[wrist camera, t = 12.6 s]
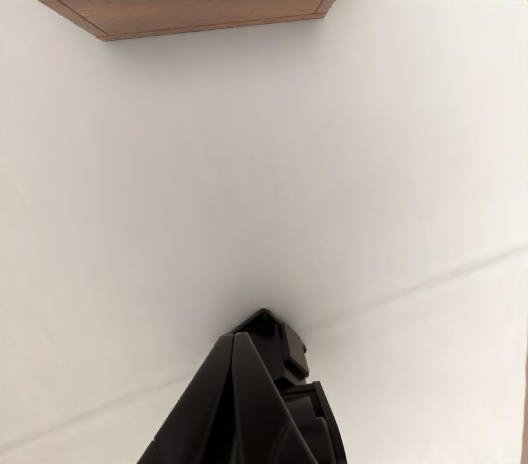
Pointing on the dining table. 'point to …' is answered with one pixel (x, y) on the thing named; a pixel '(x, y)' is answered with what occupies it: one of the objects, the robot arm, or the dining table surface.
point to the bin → (180, 15)
